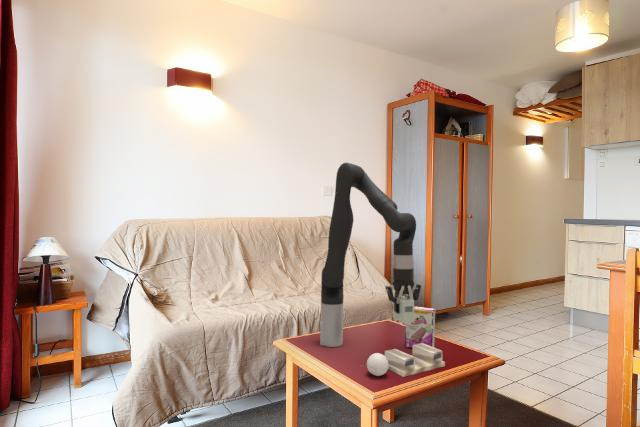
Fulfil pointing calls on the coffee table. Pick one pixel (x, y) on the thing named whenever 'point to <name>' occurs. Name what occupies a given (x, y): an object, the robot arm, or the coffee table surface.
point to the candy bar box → (421, 328)
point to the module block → (405, 310)
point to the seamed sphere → (377, 364)
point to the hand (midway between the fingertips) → (403, 312)
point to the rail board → (414, 360)
